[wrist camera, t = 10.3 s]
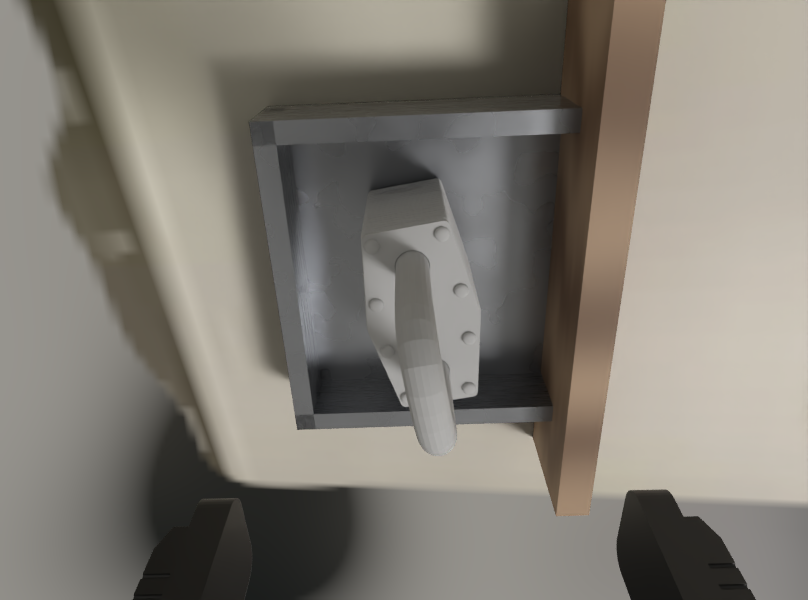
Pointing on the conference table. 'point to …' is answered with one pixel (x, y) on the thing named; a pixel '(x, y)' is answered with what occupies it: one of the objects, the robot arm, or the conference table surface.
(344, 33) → the conference table surface
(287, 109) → the grey metal tray
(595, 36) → the door strip
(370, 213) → the padlock
